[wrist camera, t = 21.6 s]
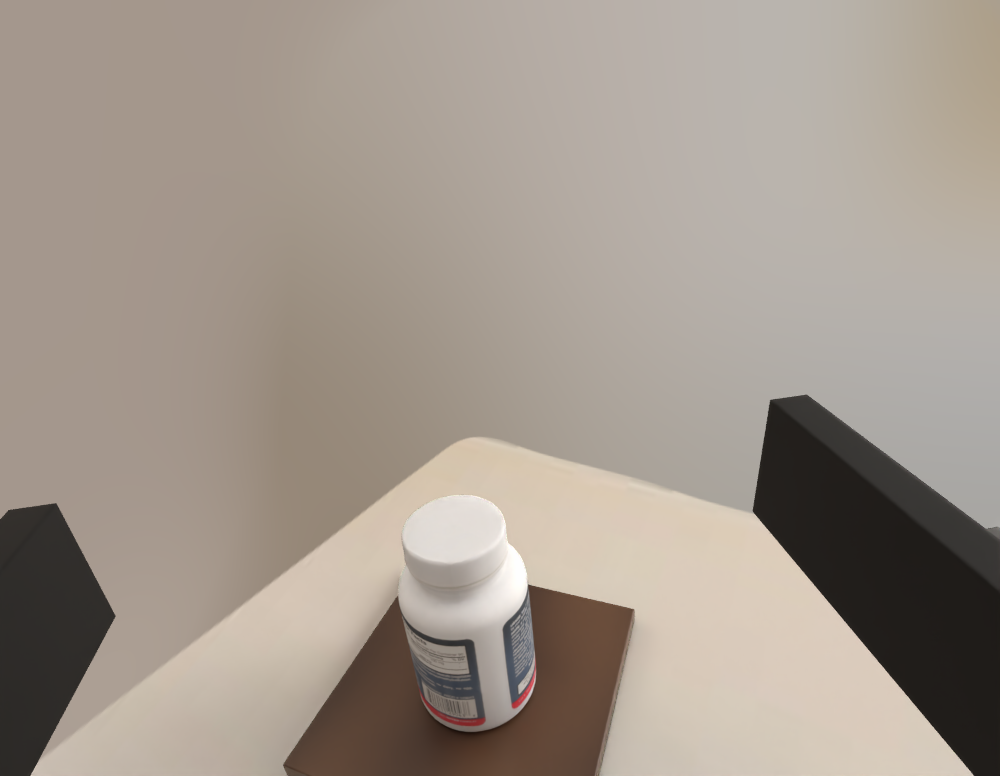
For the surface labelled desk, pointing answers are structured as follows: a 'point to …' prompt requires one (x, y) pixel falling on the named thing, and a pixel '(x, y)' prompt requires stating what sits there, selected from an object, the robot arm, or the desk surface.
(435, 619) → the pill bottle
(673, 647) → the desk surface
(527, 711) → the coaster
